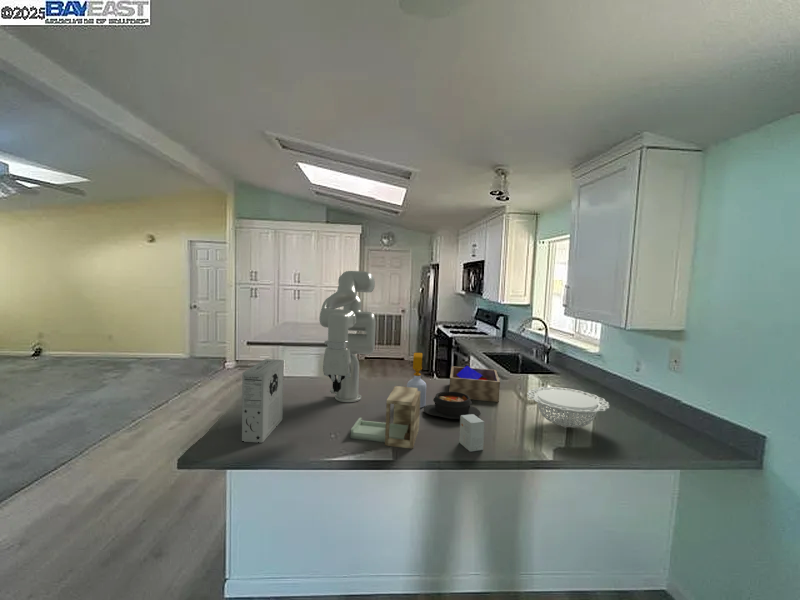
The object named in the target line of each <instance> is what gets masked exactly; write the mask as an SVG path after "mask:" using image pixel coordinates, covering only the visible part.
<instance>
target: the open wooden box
mask: <svg viewBox="0 0 800 600" xmlns="http://www.w3.org/2000/svg"><path fill="white" fill-rule="evenodd" d="M465 367H466V366H465ZM465 367H462V366H453V365H452V366H451V369H450V375H449V391H450V392H459V393H463V394H466V395H467V396H469V397H470V400H474V401H487V402H493V403H494V402H497V403H499V402H500V390H501V389H500V388H501V387H500V386H501V381H500V378H499V375H498V371H497V369H492V368H491V369H489V368H487V369H486V368H478V367H471V368H472V369H473V370H475V371H477V372H478V373H480V374H481V375H483V376H484V377H485V378H486V379H487V380H477V379H465V378H457V374H458V373H459V372H460V371H461V370H462V369H463V368H465Z"/></svg>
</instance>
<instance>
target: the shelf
mask: <svg viewBox="0 0 800 600" xmlns="http://www.w3.org/2000/svg"><path fill="white" fill-rule="evenodd" d="M420 393H421V391H418V388H412V387H407V386H400V385H399V386H398V385H394V387H393V389H392V391H391V392H390V394H389V395H388V397H387V399H386V403H385V404H386V408H385V423H386V429H385V442H384V446H388V447H395V448H403V449H414V447H415V444H416V440H417V437H418V433H419V430H420V414H421V413H420V412H421V410H420V409H421V408H420ZM392 404H393V418H392V419H393V421H392V422H393V423H392V424H401V425H408V433H405V436H404V440H403V439H394V438H389V427H390V422H391V420H390V418H391V405H392Z"/></svg>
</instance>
